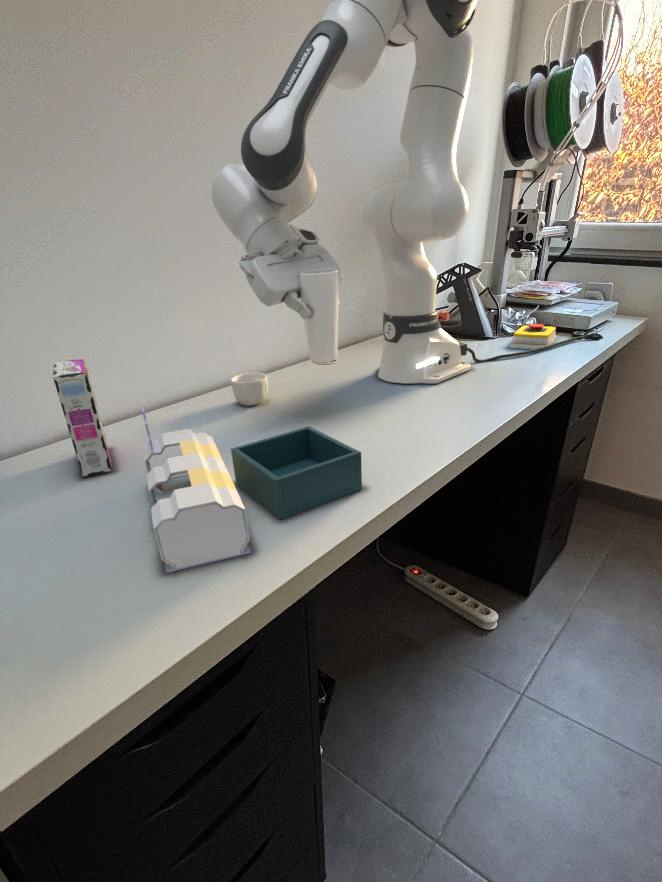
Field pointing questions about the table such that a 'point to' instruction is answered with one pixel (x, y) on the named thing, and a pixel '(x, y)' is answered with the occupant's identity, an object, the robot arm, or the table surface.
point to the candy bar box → (82, 416)
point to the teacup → (250, 388)
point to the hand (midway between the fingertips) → (323, 311)
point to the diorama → (194, 502)
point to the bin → (297, 470)
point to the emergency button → (533, 336)
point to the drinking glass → (321, 312)
